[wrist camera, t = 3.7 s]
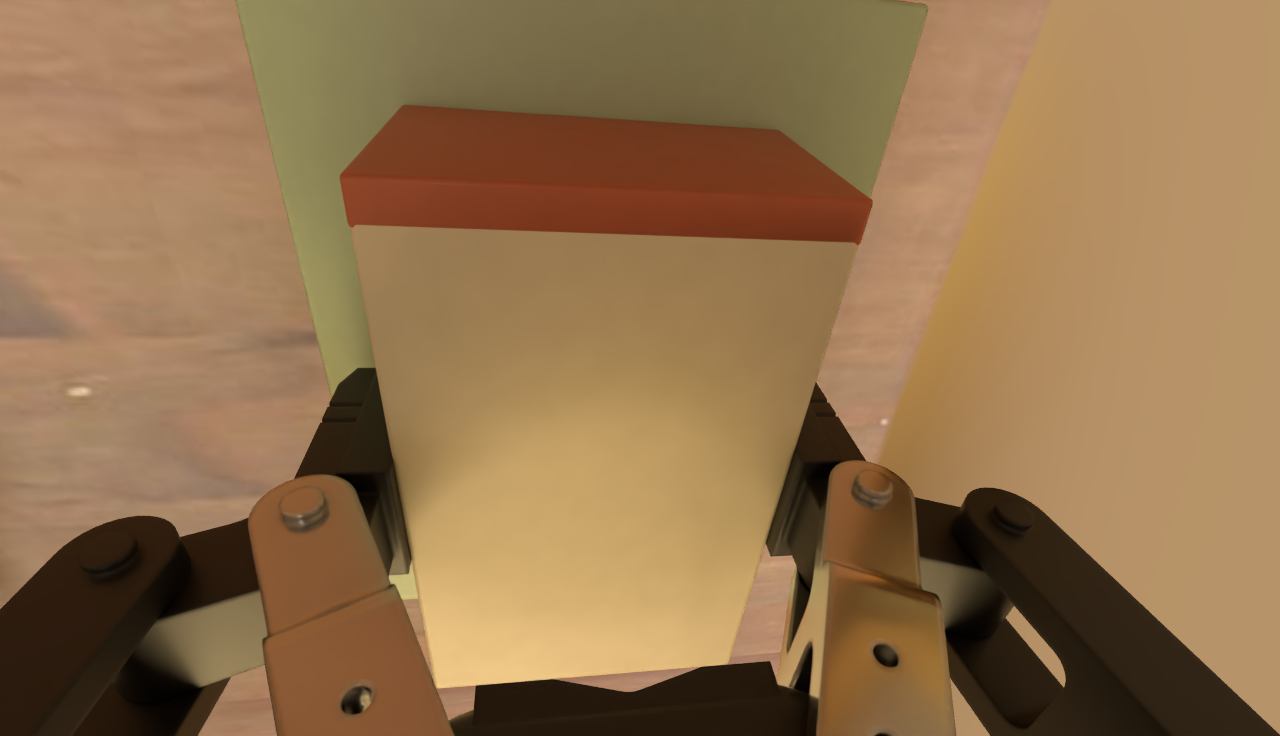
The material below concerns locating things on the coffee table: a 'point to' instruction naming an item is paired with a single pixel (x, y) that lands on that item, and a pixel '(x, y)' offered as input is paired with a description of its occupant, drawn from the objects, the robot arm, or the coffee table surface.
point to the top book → (591, 373)
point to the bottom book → (554, 94)
